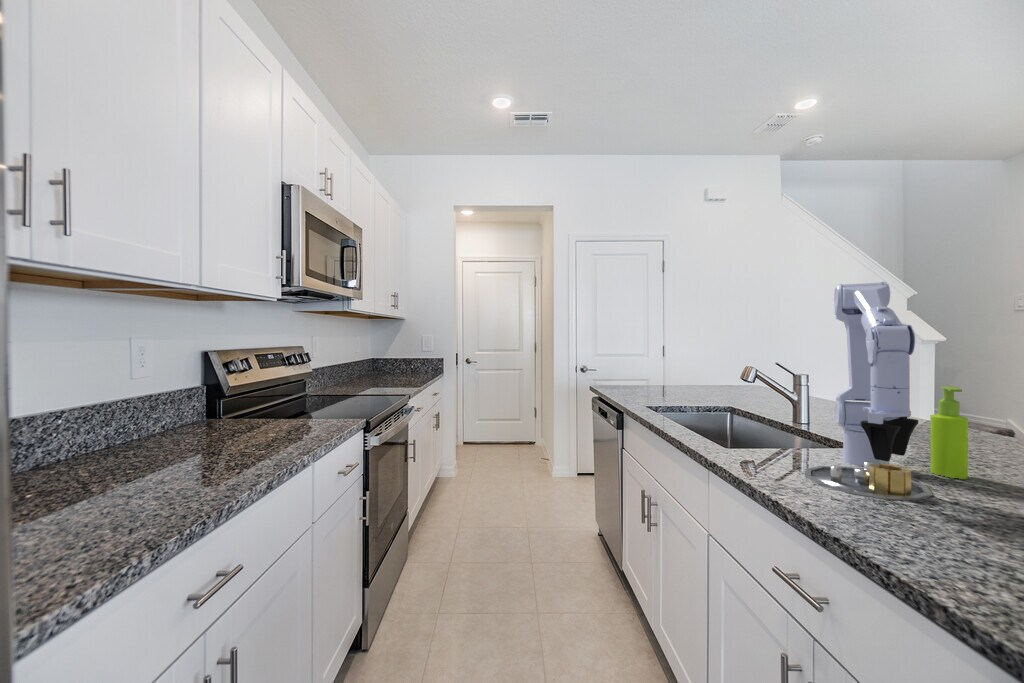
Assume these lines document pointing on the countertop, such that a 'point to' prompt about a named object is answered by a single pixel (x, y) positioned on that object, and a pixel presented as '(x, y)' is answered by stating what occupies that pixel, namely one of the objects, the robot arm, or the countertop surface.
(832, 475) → the pin
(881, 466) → the gear
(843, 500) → the countertop surface
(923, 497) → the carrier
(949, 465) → the soap dispenser
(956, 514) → the countertop surface
